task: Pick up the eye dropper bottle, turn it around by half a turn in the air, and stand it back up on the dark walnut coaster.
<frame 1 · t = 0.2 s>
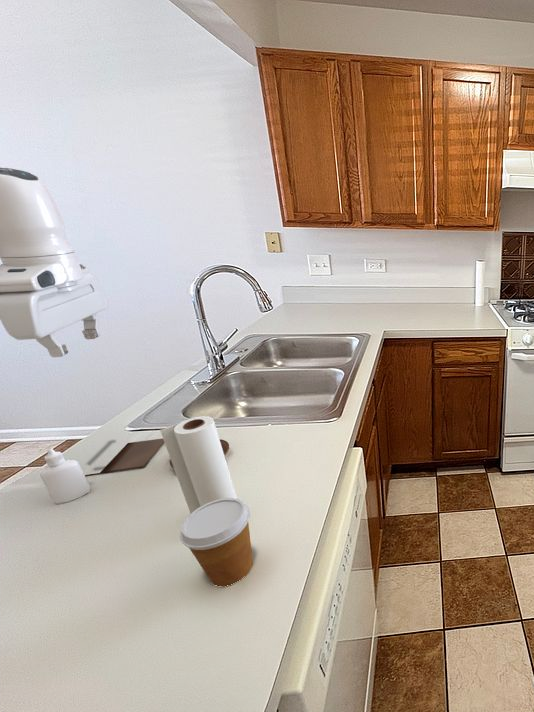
hand: (77, 346, 73), 33 cm above the table, tool pointing down, fingers open, 8 cm apart
eye dropper bottle: (73, 496, 84), on the table
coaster: (127, 457, 97), on the table
disposable coffee cup: (232, 571, 68), on the table
cup and saucer: (202, 460, 96), on the table
paper towel roll: (221, 514, 80), on the table
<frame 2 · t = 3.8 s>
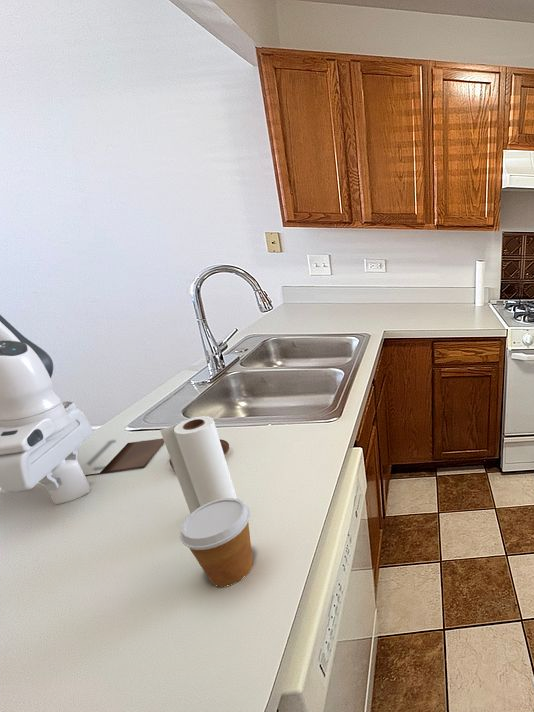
hand: (64, 478, 82), 5 cm above the table, tool pointing down, fingers closed on eye dropper bottle, 4 cm apart
eye dropper bottle: (73, 496, 84), on the table, touching gripper
everything else where it was.
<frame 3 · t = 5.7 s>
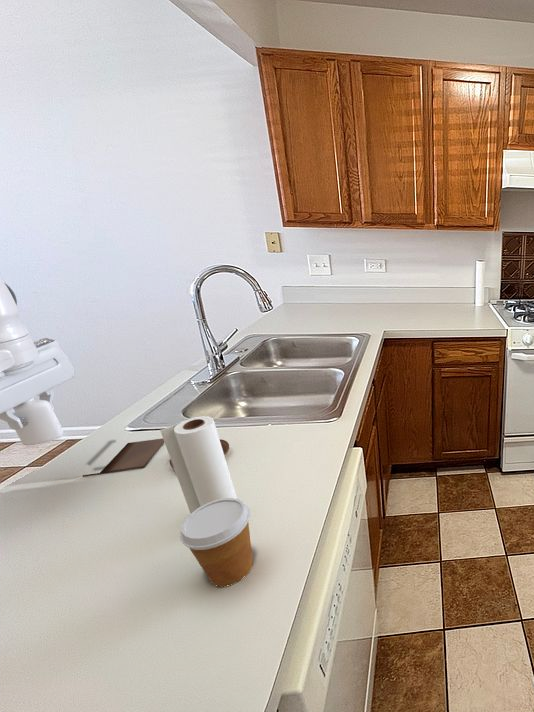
hand: (34, 419, 77), 19 cm above the table, tool pointing down, fingers closed on eye dropper bottle, 4 cm apart
eye dropper bottle: (45, 440, 79), point 14 cm above the table, touching gripper
everything else where it was.
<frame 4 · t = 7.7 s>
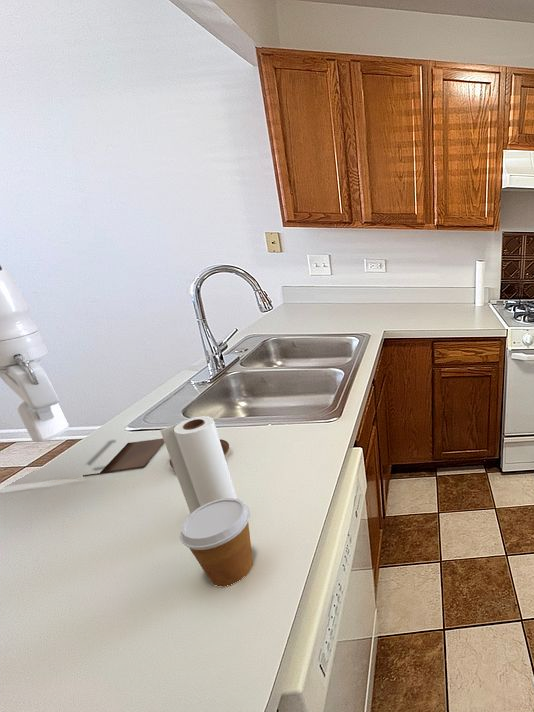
hand: (42, 414, 78), 19 cm above the table, tool pointing down, fingers closed on eye dropper bottle, 4 cm apart
eye dropper bottle: (52, 435, 80), point 14 cm above the table, touching gripper
everything else where it was.
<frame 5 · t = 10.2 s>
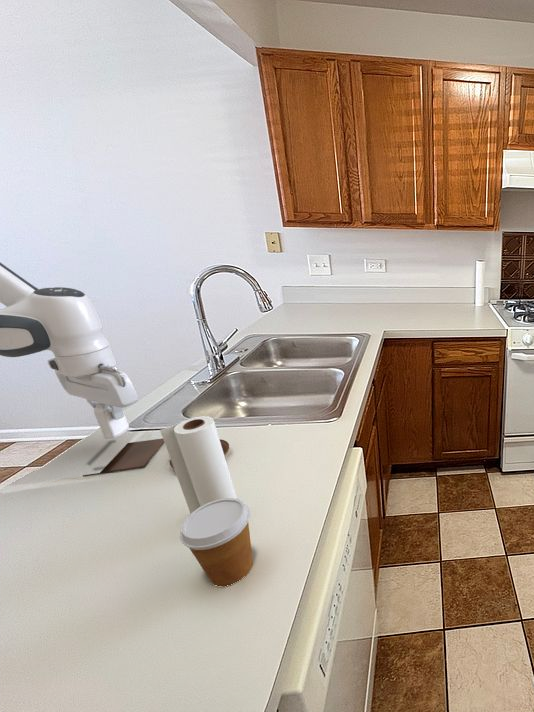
hand: (110, 415, 92), 12 cm above the table, tool pointing down, fingers closed on eye dropper bottle, 4 cm apart
eye dropper bottle: (117, 433, 94), point 7 cm above the table, touching gripper
everything else where it was.
when the fingers open (5 cm above the table, at t = 12.1 s): eye dropper bottle stays where it is, resting on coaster.
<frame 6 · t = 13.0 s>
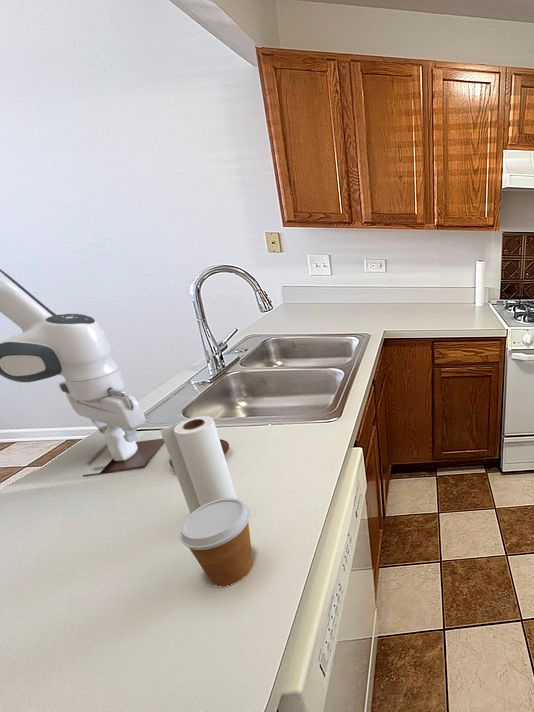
hand: (119, 436, 94), 6 cm above the table, tool pointing down, fingers open, 8 cm apart
eye dropper bottle: (127, 455, 97), resting on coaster
everything else where it was.
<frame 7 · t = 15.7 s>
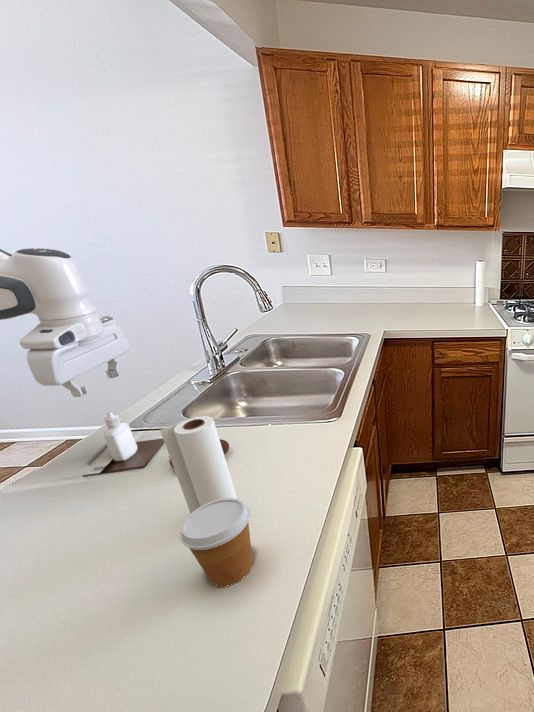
hand: (98, 385, 89), 19 cm above the table, tool pointing down, fingers open, 8 cm apart
nothing on the table moved.
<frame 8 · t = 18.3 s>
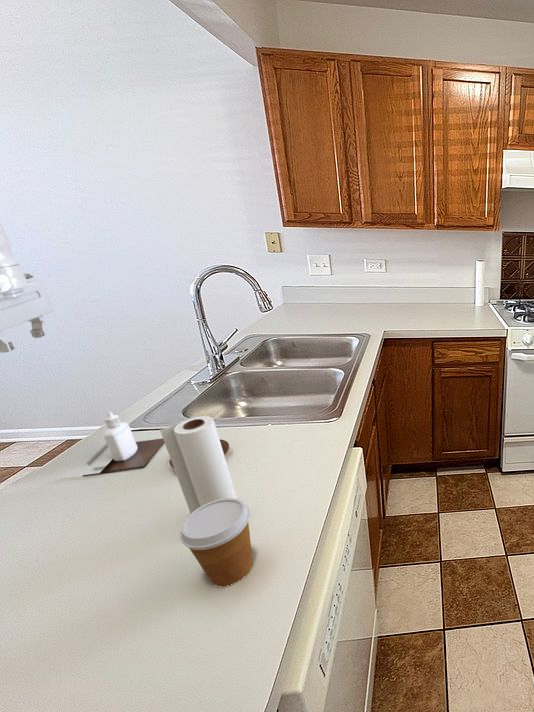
hand: (24, 343, 87), 29 cm above the table, tool pointing down, fingers open, 8 cm apart
nothing on the table moved.
at the end: eye dropper bottle inside the target area on the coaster (0.1 cm from its centre), point 0.4 cm above the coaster's base; eye dropper bottle tilted 0°; the gripper is holding nothing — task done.
